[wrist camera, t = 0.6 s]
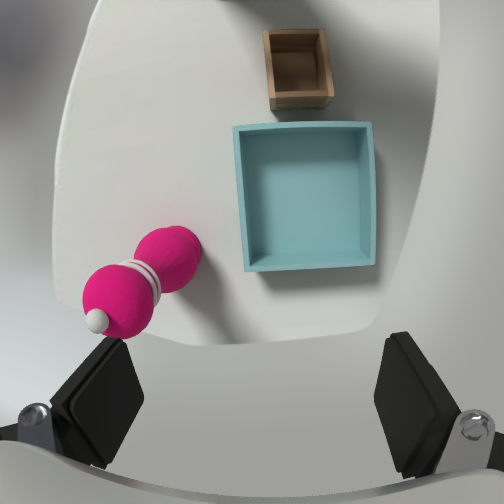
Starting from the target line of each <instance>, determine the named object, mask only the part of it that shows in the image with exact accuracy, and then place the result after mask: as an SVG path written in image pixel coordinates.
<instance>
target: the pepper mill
mask: <svg viewBox="0 0 504 504" xmlns="http://www.w3.org/2000/svg"><path fill="white" fill-rule="evenodd" d="M200 258H201V246H200V243H199V240H198V238H197V237H196V236H195V234H194V233H193V232H191V231H190V230H189V229H187V228H185V227H182V226H171V227H168V228H160V229H156V230H154V231H152V232H150V233H149V234H148V235H146V236H145V237H144V238H143V239H142V240H141V241H140V243H139V245H138V247H137V249H136V251H135V254H134V259H128V260H125V261H122V262H121V263H119V264H118V265H108V266H105V267H103V268H101V269H99V270H97V271H96V272H95V273H94V274H93V275H92V276H91V277H90V278H89V280H88V281H87V283H86V285H85V288H84V292H83V308H84V312H85V314H86V320H85V322H86V326H87V327H88V329H89V330H90V331H91V332H93V333H96V334H99V333H102V334H103V335H105V336H107V337H117V338H121V339H128V338H131V337H134V336H136V335H137V334H139V333H140V332H141V331H142V330H143V329H145V328H146V327H147V325H148V323H149V322H150V320H151V317H152V314H153V310H154V307H155V306H156V305H157V304H158V302H159V300H160V297H161V293H170V292H174V291H176V290H179V289H181V288H182V287H184V286H185V285H186V284H187V283H188V282H189V281H190V280H191V279H192V278H193V276H194V274H195V271H196V268H197V265H198V263H199V261H200Z"/></svg>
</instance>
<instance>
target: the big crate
mask: <svg viewBox="0 0 504 504" xmlns="http://www.w3.org/2000/svg"><path fill="white" fill-rule="evenodd" d="M232 129H233V142H234V155H235V167H236V179H237V191H238V203H239V215H240V227H241V238H242V249H243V261H244V272H260V271H280V270H299V269H317V268H334V267H350V266H365V265H375V254H376V178H375V158H374V144H373V132H372V122H362V121H298V122H277V123H262V124H250V125H239V126H232Z"/></svg>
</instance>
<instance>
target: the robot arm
mask: <svg viewBox="0 0 504 504" xmlns="http://www.w3.org/2000/svg"><path fill="white" fill-rule="evenodd" d="M143 401H144V394H143V391H142V388H141V386H140V383H139V380H138V377H137V375H136V372H135V369H134V366H133V363H132V360H131V357H130V354H129V351H128V348H127V345H126V343H125V342H123V340H122V339H121V338H117V337H106V338H104V339H103V341H102V342H101V343H100V344H99V345H98V346H97V347H96V348H95V349H94V350H93V351H92V353H91V354H90V355H89V356H88V357H87V358H86V359H85V360H84V362H83V363H82V364H81V365H80V366H79V367H78V368H77V369H76V371H75V372H74V373H73V374H72V375H71V376H70V377H69V378H68V380H67V381H66V382H65V383H64V384H63V385H62V386H61V388H60V389H59V390H58V391H57V392H56V394H55V395H54V396H53V397H52V398H51V399H50V402H51V404H52V407H51V408H49V407H48V406H47V405H46V404H43V403H33V404H30V405H28V406H26V407H25V408H24V409H23V410H22V411H21V412H20V414H19V416H18V423H16V424H12V425H9V426H4V427H0V504H504V434H502V433H499V432H495V423H494V421H493V419H492V418H491V417H490V415H488V414H487V413H486V412H483V411H481V410H475V409H472V410H466V411H464V412H461V411H460V409H459V407H458V406H457V404H456V402H455V401H454V399H453V397H452V396H451V394H450V393H449V391H448V389H447V388H446V386H445V385H444V383H443V382H442V380H441V379H440V377H439V376H438V374H437V372H436V371H435V369H434V368H433V366H432V365H430V364H429V363H428V361H427V359H426V358H425V356H424V355H423V353H422V352H421V350H420V349H419V347H418V346H417V345H416V343H415V342H414V340H413V339H412V337H411V336H410V334H409V333H408V332H399V333H392V334H391V335H390V338H387V339H386V340H385V345H384V350H383V356H382V361H381V366H380V371H379V375H378V379H377V384H376V388H375V392H374V403H375V406H376V409H377V412H378V415H379V418H380V421H381V423H382V427H383V429H384V433H385V435H386V439H387V442H388V445H389V448H390V452H391V455H392V458H393V462H394V465H395V468H396V471H397V472H398V473H399V472H401V473H402V476H403V479H406V478H410V477H413V476H415V479H412V480H408V481H404V482H400V483H395V484H391V485H386V486H381V487H376V488H371V489H365V490H359V491H352V492H345V493H338V494H329V495H319V496H305V497H282V498H281V497H277V498H276V497H271V498H270V497H268V498H267V497H239V496H225V495H215V494H206V493H199V492H192V491H185V490H179V489H174V488H168V487H163V486H158V485H154V484H149V483H145V482H141V481H137V480H133V479H129V478H126V477H123V476H118V475H116V474H113V473H109V472H106V471H103V470H100V469H97V468H94V467H92V466H90V465H91V464H92V465H93V466H95V467H98V468H101V469H104V470H105V468H106V467H107V464H110V463H111V462H112V461H113V459H114V457H115V455H116V453H117V451H118V449H119V448H120V445H121V444H122V442H123V440H124V438H125V436H126V434H127V432H128V430H129V428H130V426H131V425H132V423H133V421H134V419H135V417H136V415H137V413H138V411H139V409H140V407H141V406H142V404H143Z"/></svg>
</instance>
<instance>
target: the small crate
mask: <svg viewBox="0 0 504 504" xmlns="http://www.w3.org/2000/svg"><path fill="white" fill-rule="evenodd" d="M262 33H263V42H264V51H265V60H266V70H267V80H268V90H269V100H270V110H288V109H325V108H326V107H327V105H328V104H329V103H330V102H331V100H332V99H333V98H334V97H335V94H334V86H333V79H332V72H331V65H330V59H329V53H328V47H327V41H326V35H325V30H324V29H280V30H263V31H262Z"/></svg>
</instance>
